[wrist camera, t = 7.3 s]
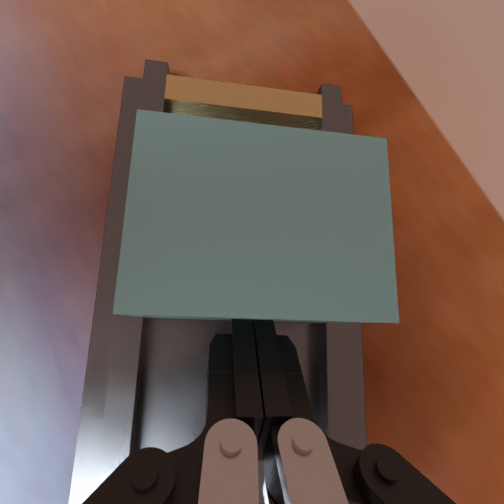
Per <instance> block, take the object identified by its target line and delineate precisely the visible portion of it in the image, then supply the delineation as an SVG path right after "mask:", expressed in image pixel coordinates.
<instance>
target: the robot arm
mask: <svg viewBox="0 0 504 504" xmlns="http://www.w3.org/2000/svg"><path fill="white" fill-rule="evenodd" d="M258 460H263V462H264V471H265V477H264V481H263V495H264V501H265V504H456V503H455V502H453V501H452V500H451V499H450V498H449V497H448V496H447V495H445V494H444V493H443V492H442V491H441V490H440V489H439V488H437V487H436V486H435V485H434V484H433V483H432V482H431V481H429V480H428V479H427V478H426V477H425V476H424V475H423V474H421V473H420V472H419V471H418V470H417V469H416V468H415V467H414V466H412V465H411V464H410V463H409V462H408V461H407V460H406V459H404V458H403V457H402V456H401V455H400V454H399V453H397V452H396V451H395V450H394V449H392V448H390V447H388V446H386V445H383V444H377V443H376V444H370V445H368V446H366V447H365V448H364V449H363V450H360V449H357V448H354V447H351V446H348V445H345V444H342V443H339V442H337V441H334V440H333V439H331V438H329V437H328V436H327V435H326V434H325V433H323V432H322V430H321V429H320V428H319V427H318V425H317V424H316V422H315V419H314V417H313V413H312V409H311V405H310V401H309V397H308V393H307V389H306V386H305V382H304V378H303V374H302V370H301V366H300V363H299V358H298V354H297V350H296V347H295V345H294V344H293V342H292V341H291V340H290V338H289V337H288V336H287V335H276V330H275V325H274V321H273V320H250V319H231V321H230V329H229V334H218V333H216V334H215V336H214V338H213V340H212V341H211V343H210V345H209V356H208V368H207V389H206V416H205V427H204V429H203V431H202V432H201V434H200V435H199V436H198V437H197V438H196V439H195V440H194V441H193V442H191V443H190V444H188V445H186V446H184V447H181V448H178V449H176V450H173V451H170V452H168V453H166V452H165V451H164V450H162V449H159V448H155V447H146V448H142V449H139V450H137V451H135V452H133V453H132V454H130V455H129V456H128V457H127V458H126V459H125V460H124V461H123V462H122V463H121V464H120V465H119V466H118V467H117V468H116V469H115V470H114V471H113V472H112V473H111V474H110V475H109V476H108V477H107V478H106V479H105V480H104V481H103V482H102V483H101V484H100V485H99V487H98V488H97V489H96V490H95V491H94V492H93V493H92V494H91V495H90V496H89V497H88V498H87V499H86V500H85V501H84V502H83V503H82V504H259V490H258Z"/></svg>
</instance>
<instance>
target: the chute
mask: <svg viewBox="0 0 504 504" xmlns="http://www.w3.org/2000/svg"><path fill="white" fill-rule="evenodd" d="M137 109H139V110H148V111H157V112H165V113H174V114H182V115H191V116H199V117H208V118H216V119H225V120H234V121H242V122H251V123H259V124H268V125H276V126H285V127H294V128H302V129H311V130H319V131H328V132H336V133H345V134H353V116H352V106H351V105H343V104H342V100H341V86H334V85H327V84H321V86H320V88H319V90H318V92H317V94H311V93H304V92H296V91H289V90H281V89H274V88H266V87H259V86H251V85H244V84H236V83H228V82H221V81H213V80H206V79H198V78H191V77H183V76H176V75H170V74H169V66H168V63H167V62H160V61H153V60H146V59H145V67H144V76H143V78H135V77H128V76H125V79H124V86H123V94H122V102H121V109H120V117H119V125H118V132H117V140H116V147H115V155H114V163H113V170H112V178H111V185H110V193H109V201H108V208H107V216H106V223H105V231H104V239H103V246H102V254H101V262H100V269H99V277H98V284H97V292H96V300H95V307H94V315H93V322H92V330H91V338H90V345H89V353H88V361H87V368H86V376H85V383H84V391H83V399H82V406H81V414H80V421H79V429H78V437H77V444H76V452H75V459H74V467H73V475H72V482H71V490H70V498H69V504H82V503H83V502H84V501H85V500H86V499H87V498H88V497H89V496H90V495H91V494H92V493H93V492H94V491H95V490H96V489H97V488H98V487H99V485H100V484H101V483H102V482H103V481H104V480H105V479H106V478H107V477H108V476H109V475H110V474H111V473H112V472H113V471H114V470H115V469H116V468H117V467H118V466H119V465H120V464H121V463H122V462H123V461H124V460H125V459H126V458H127V457H128V456H129V455H130V454H132V453H133V452H135V451H137V450H139V449H142V448H146V447H155V448H159V449H162V450H164V451H165V452H166V453H168V452H170V451H173V450H176V449H178V448H181V447H184V446H186V445H188V444H190V443H191V442H193V441H194V440H195V439H196V438H197V437H198V436H199V435H200V434H201V432H202V431H203V429H204V427H205V416H206V389H207V368H208V356H209V345H210V343H211V341H212V340H213V338H214V336H215V334H216V333H218V334H229V329H230V321H231V320H201V319H169V318H149V317H139V316H128V315H117V314H113V307H114V299H115V291H116V282H117V274H118V265H119V257H120V249H121V240H122V232H123V223H124V215H125V207H126V198H127V190H128V181H129V173H130V165H131V156H132V148H133V139H134V131H135V122H136V114H137ZM274 325H275V330H276V335H287V336H288V337H289V338H290V340H291V341H292V342H293V344H294V345H295V347H296V350H297V354H298V358H299V363H300V366H301V370H302V374H303V378H304V382H305V386H306V389H307V393H308V397H309V401H310V405H311V409H312V413H313V417H314V419H315V422H316V424H317V425H318V427H319V428H320V429H321V430H322V432H323V433H325V434H326V435H327V436H328V437H329V438H331V439H333V440H334V441H337V442H339V443H342V444H345V445H348V446H351V447H354V448H357V449H360V450H363V449H364V448H365V447H366V446H367V444H366V420H365V397H364V374H363V350H362V327H361V323H299V322H274ZM264 477H265V471H264V462H263V460H258V490H259V504H265V501H264V495H263V481H264Z"/></svg>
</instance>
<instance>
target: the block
mask: <svg viewBox="0 0 504 504" xmlns="http://www.w3.org/2000/svg"><path fill="white" fill-rule="evenodd" d="M113 314H117V315H128V316H139V317H149V318H169V319H201V320H231V319H250V320H273V321H274V322H299V323H399V311H398V296H397V281H396V266H395V251H394V236H393V222H392V207H391V192H390V177H389V162H388V147H387V138H379V137H371V136H362V135H353V134H345V133H336V132H328V131H319V130H311V129H302V128H294V127H285V126H276V125H268V124H259V123H251V122H242V121H234V120H225V119H216V118H208V117H199V116H191V115H182V114H174V113H165V112H157V111H148V110H139V109H137V114H136V122H135V131H134V139H133V148H132V156H131V165H130V173H129V181H128V190H127V198H126V207H125V215H124V223H123V232H122V240H121V249H120V257H119V265H118V274H117V282H116V291H115V299H114V307H113Z"/></svg>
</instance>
